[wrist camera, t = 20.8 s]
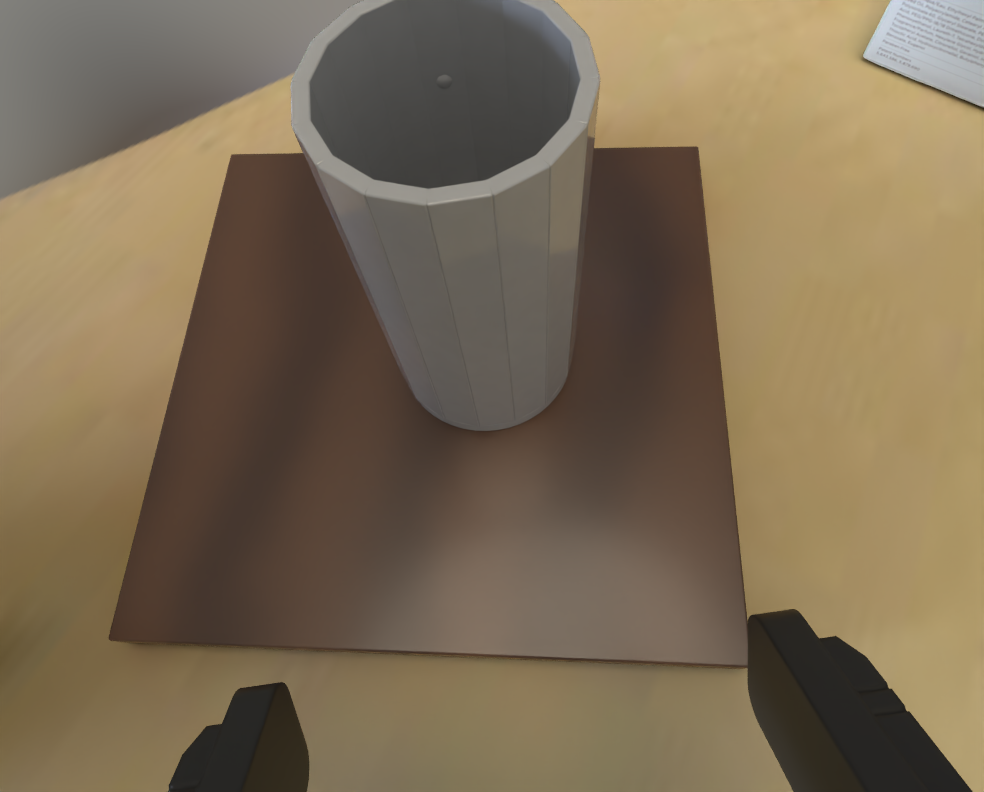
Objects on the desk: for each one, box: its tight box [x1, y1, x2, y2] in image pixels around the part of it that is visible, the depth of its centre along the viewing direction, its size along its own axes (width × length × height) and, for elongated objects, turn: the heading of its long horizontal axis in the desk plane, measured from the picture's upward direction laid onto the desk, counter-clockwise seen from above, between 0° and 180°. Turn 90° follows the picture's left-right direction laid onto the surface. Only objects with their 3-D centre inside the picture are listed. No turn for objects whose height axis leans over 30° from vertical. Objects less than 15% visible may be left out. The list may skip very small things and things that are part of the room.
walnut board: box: [109, 147, 748, 669], centre depth 25 cm, size 20×20×1 cm
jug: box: [291, 0, 600, 431], centre depth 19 cm, size 9×6×12 cm
